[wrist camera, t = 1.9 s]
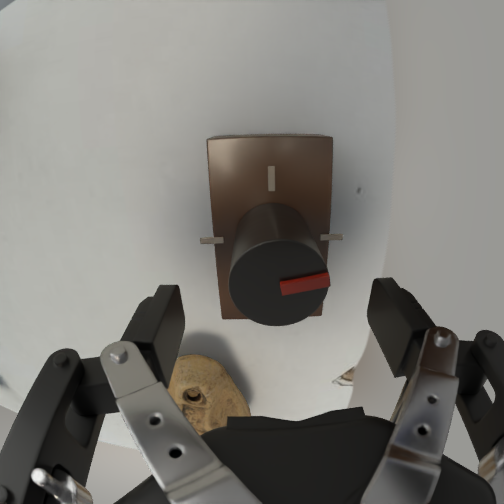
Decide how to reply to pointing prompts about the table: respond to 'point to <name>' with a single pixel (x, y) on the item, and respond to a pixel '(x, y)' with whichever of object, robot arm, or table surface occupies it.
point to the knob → (276, 267)
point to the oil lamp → (205, 392)
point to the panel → (267, 191)
